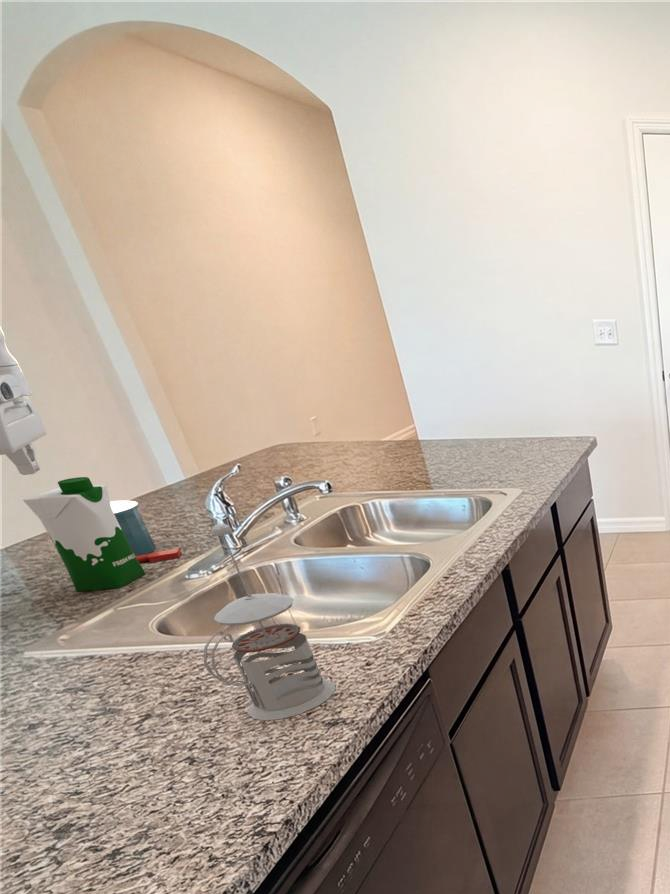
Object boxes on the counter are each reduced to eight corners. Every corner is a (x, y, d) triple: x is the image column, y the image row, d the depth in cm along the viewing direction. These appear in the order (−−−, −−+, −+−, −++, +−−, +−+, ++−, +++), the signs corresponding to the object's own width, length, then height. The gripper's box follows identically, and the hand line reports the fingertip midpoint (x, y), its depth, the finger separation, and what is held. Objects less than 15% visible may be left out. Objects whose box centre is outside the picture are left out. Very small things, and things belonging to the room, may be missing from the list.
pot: (79, 575, 128) (55, 530, 124) (69, 554, 139) (46, 512, 135) (163, 556, 137) (143, 513, 133) (147, 538, 147) (128, 497, 143)
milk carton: (122, 589, 122) (69, 485, 113) (66, 594, 120) (7, 489, 112) (154, 571, 130) (106, 472, 121) (101, 575, 128) (49, 476, 120)
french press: (351, 687, 91) (287, 516, 80) (261, 735, 81) (174, 549, 70) (307, 673, 94) (240, 507, 83) (215, 717, 85) (126, 537, 74)
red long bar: (76, 575, 128) (73, 569, 128) (80, 570, 131) (77, 564, 130) (179, 557, 136) (176, 551, 136) (181, 553, 139) (178, 547, 138)
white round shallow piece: (51, 531, 125) (39, 508, 123) (45, 517, 133) (33, 495, 131) (145, 513, 135) (135, 492, 133) (134, 501, 143) (124, 481, 141)
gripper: (-20, 381, 108) (23, 463, 114) (-70, 395, 93) (-19, 489, 99) (35, 378, 112) (73, 458, 117) (-6, 391, 96) (40, 482, 102)
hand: (31, 472), depth 108 cm, fingers closed
